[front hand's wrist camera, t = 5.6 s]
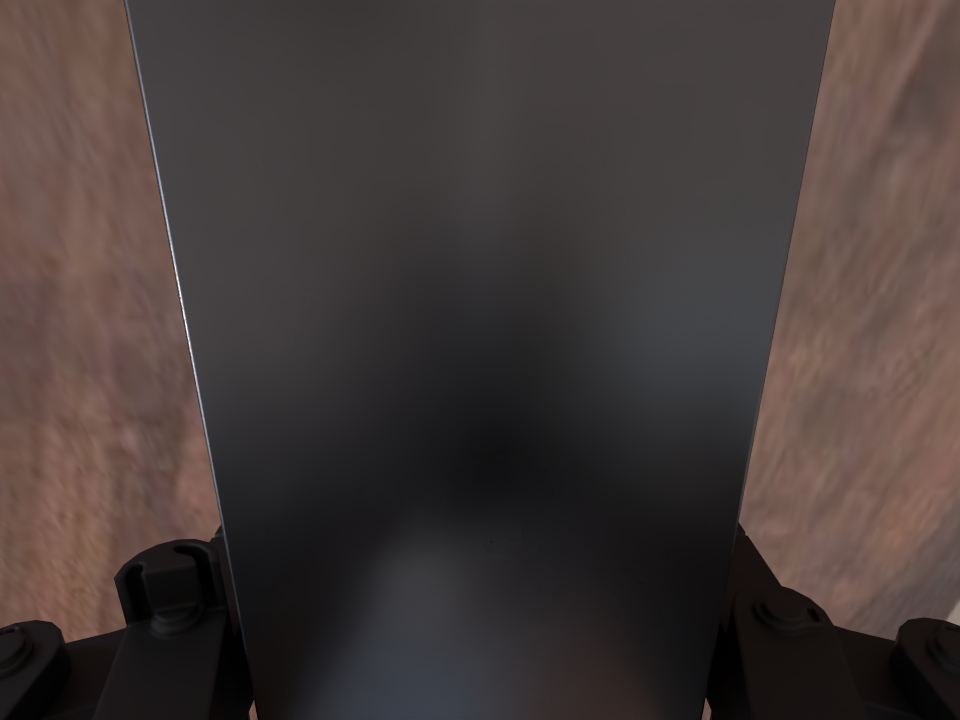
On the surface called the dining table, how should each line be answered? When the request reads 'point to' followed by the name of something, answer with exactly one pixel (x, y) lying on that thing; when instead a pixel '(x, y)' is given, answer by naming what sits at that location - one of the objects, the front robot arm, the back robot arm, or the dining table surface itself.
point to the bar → (479, 332)
